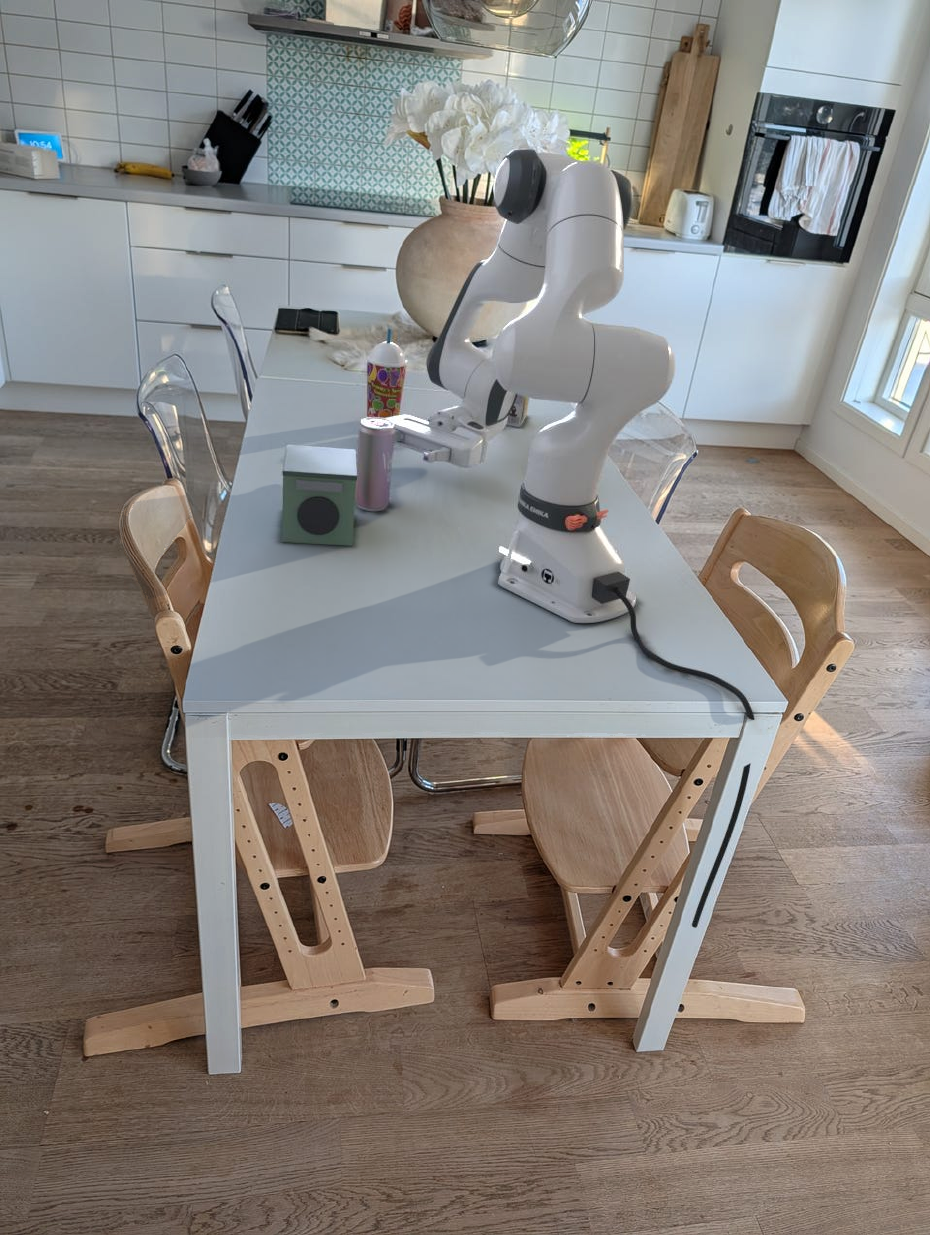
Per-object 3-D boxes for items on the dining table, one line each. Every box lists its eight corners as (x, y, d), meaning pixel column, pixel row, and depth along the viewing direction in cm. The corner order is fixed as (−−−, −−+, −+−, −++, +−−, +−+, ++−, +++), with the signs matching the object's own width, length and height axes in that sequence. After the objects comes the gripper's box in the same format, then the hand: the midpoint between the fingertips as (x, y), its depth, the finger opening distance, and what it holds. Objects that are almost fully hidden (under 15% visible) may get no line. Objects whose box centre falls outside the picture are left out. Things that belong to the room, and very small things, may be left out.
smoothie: (366, 429, 192) (373, 333, 182) (359, 416, 199) (365, 322, 189) (405, 430, 195) (414, 335, 185) (396, 416, 201) (404, 324, 191)
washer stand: (352, 547, 145) (357, 477, 138) (280, 543, 143) (282, 472, 137) (352, 516, 154) (356, 449, 148) (284, 512, 153) (286, 444, 147)
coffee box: (500, 411, 213) (510, 342, 205) (526, 416, 213) (537, 347, 205) (493, 423, 206) (503, 351, 198) (521, 428, 205) (532, 356, 197)
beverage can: (367, 495, 163) (373, 414, 155) (395, 505, 160) (402, 423, 153) (347, 505, 158) (352, 421, 151) (375, 515, 156) (381, 431, 148)
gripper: (406, 402, 175) (360, 416, 164) (496, 431, 166) (453, 449, 156) (403, 433, 178) (358, 449, 168) (491, 464, 169) (449, 483, 159)
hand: (405, 449), depth 162 cm, fingers open, 8 cm apart
